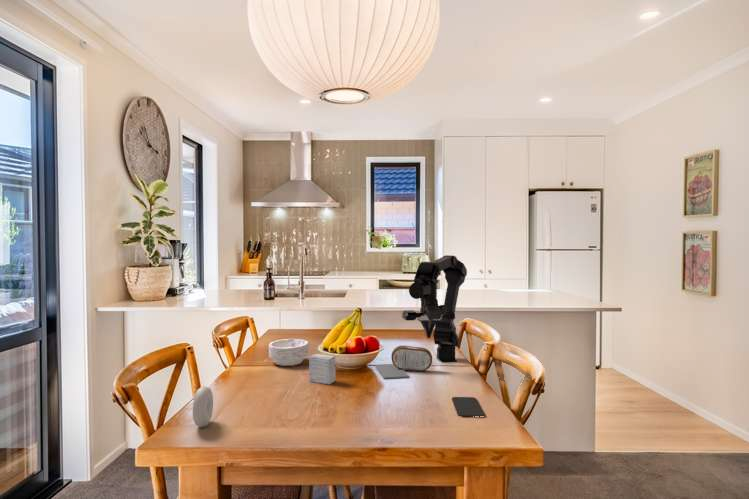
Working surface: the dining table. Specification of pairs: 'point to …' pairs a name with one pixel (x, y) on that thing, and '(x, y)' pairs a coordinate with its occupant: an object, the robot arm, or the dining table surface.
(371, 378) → the dining table surface
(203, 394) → the grey marbled disc
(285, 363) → the marble bowl
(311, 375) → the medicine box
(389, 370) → the tin mat
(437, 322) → the robot arm
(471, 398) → the phone
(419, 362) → the tin
